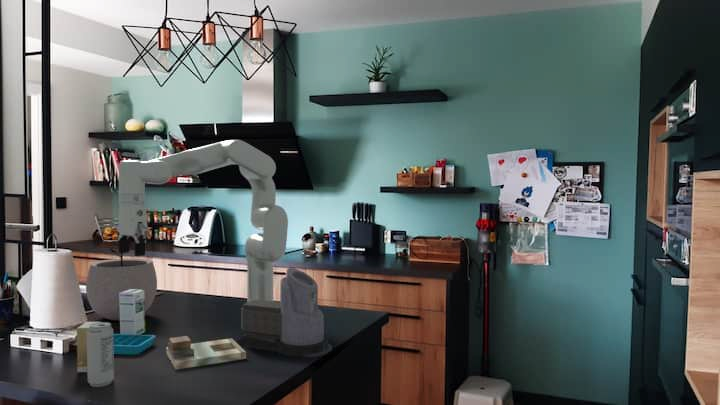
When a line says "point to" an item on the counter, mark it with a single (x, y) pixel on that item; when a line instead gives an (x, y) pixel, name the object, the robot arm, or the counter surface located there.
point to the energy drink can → (100, 354)
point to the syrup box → (132, 312)
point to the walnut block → (179, 344)
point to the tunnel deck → (207, 353)
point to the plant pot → (119, 283)
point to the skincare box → (82, 346)
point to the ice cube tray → (131, 343)
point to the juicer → (287, 320)
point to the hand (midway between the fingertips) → (131, 254)
